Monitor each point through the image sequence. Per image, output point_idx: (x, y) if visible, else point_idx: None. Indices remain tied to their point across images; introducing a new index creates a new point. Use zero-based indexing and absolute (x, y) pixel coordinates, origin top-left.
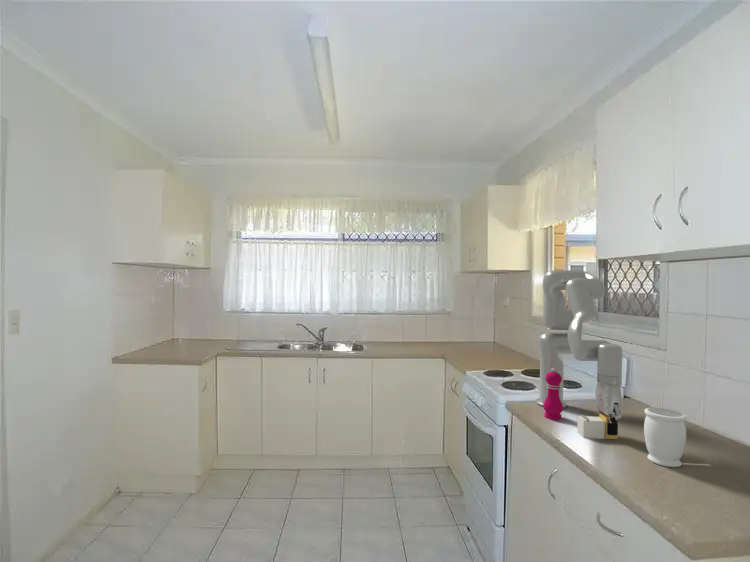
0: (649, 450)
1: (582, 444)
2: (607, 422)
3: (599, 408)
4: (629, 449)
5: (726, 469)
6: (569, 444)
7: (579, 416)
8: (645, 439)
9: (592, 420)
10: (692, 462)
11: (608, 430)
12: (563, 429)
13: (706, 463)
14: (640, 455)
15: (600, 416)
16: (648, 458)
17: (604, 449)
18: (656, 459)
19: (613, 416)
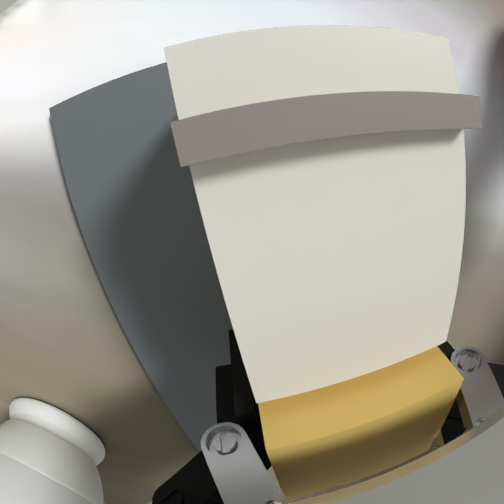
0: (5, 426)
1: (62, 86)
2: (260, 413)
3: (462, 471)
4: (116, 376)
5: (117, 500)
6: (45, 7)
7: (427, 49)
8: (4, 459)
9: (237, 239)
10: (115, 480)
11: (232, 356)
12: (403, 10)
13: (132, 494)
14: (62, 390)
15: (424, 373)
16: (28, 400)
17: (30, 237)
18: (10, 414)
19: (357, 476)
